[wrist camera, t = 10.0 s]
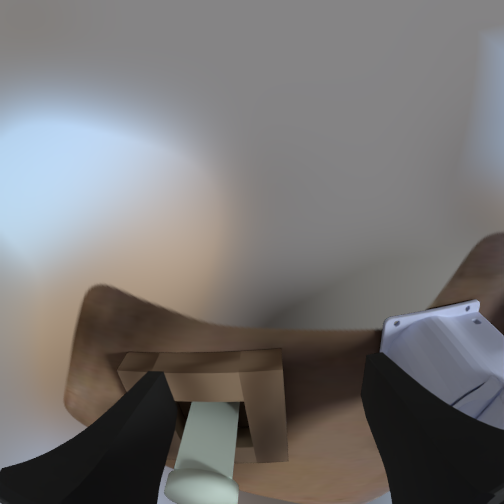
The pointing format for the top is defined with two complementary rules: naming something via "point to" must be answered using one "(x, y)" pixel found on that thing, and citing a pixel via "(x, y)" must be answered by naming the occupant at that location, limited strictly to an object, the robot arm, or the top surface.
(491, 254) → the top surface
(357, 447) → the top surface
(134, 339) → the top surface
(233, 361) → the walnut holder
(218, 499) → the green peg
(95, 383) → the top surface
